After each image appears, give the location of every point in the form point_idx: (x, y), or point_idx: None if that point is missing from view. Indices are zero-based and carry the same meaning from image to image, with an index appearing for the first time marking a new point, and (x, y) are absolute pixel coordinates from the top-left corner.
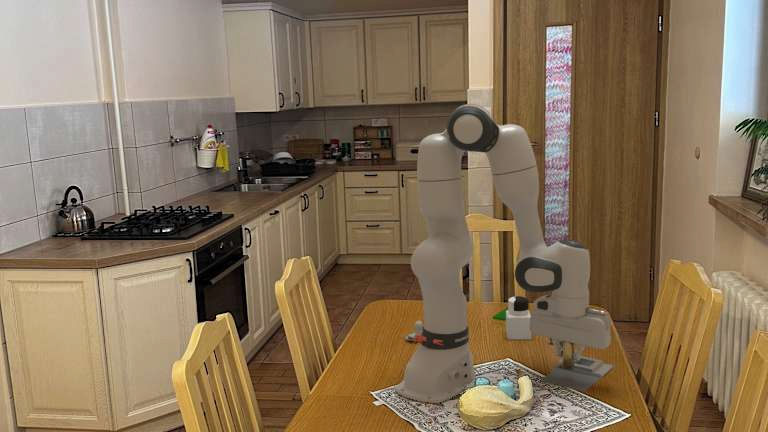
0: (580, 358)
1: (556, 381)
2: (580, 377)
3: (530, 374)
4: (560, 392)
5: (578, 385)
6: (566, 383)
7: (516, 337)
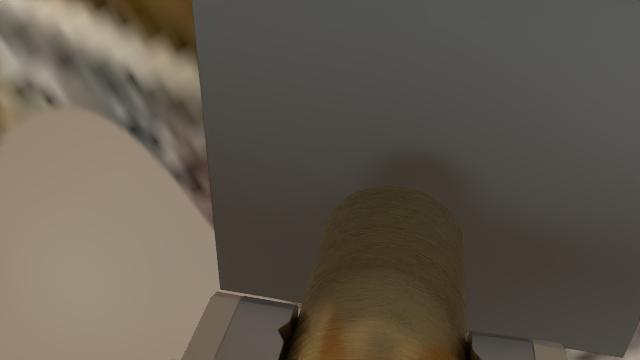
0: (561, 350)
1: None
2: (520, 101)
3: (52, 80)
4: None
5: (543, 276)
6: None
7: None
